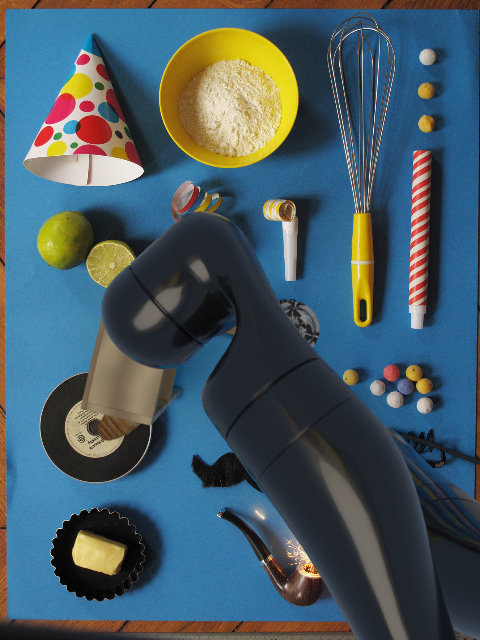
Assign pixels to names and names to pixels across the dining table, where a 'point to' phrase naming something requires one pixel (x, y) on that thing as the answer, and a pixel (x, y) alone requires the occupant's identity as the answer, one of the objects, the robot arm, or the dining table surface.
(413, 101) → the dining table surface
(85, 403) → the shelf
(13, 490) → the dining table surface
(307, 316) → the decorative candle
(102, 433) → the pastry
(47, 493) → the dining table surface
